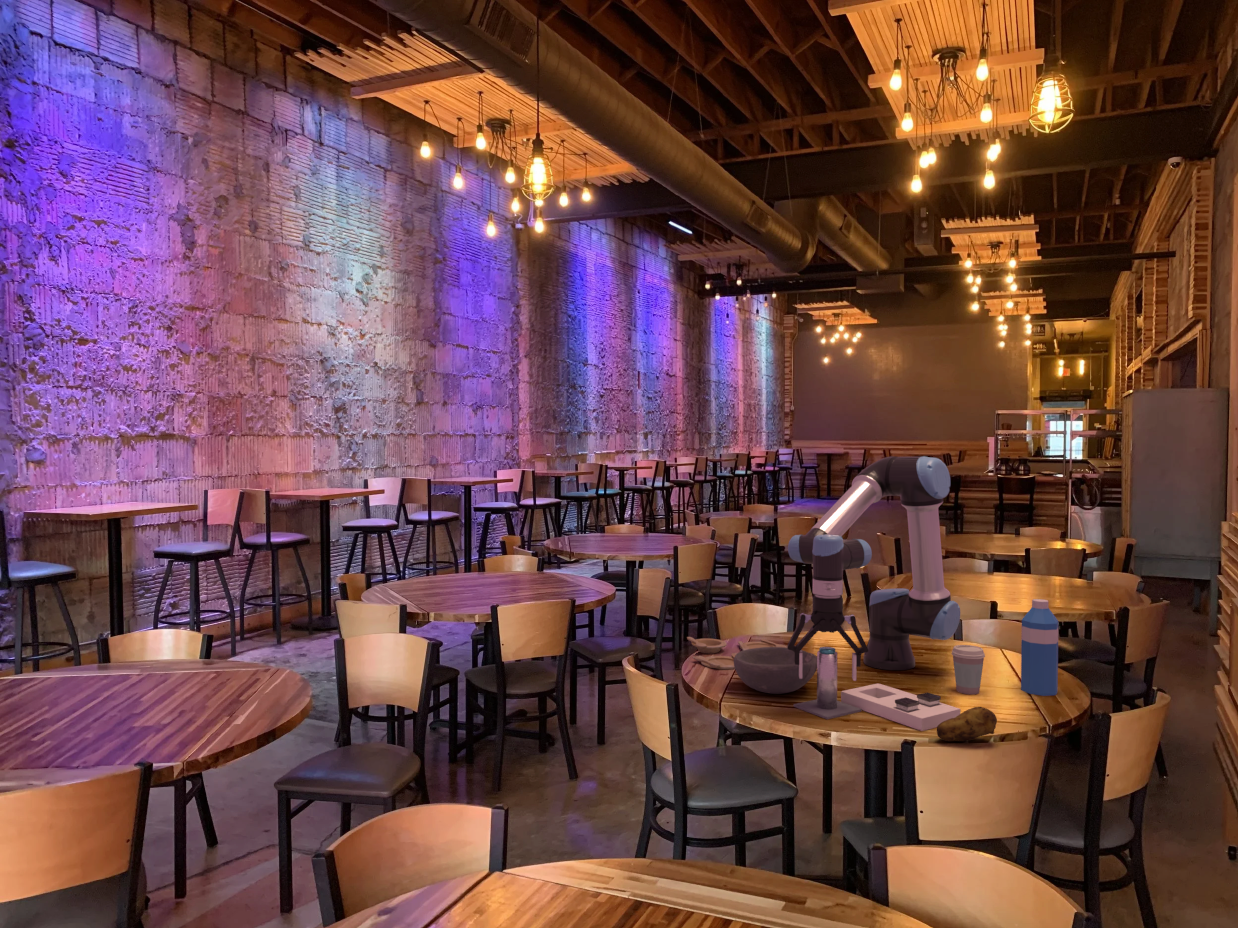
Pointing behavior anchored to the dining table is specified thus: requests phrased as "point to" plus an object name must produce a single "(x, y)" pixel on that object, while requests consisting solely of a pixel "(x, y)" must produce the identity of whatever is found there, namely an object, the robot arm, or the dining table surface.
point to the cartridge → (827, 678)
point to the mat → (827, 714)
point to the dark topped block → (928, 699)
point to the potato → (968, 725)
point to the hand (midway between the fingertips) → (827, 678)
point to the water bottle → (1039, 650)
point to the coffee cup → (968, 668)
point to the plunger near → (907, 704)
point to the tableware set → (715, 646)
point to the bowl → (774, 669)
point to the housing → (883, 704)
